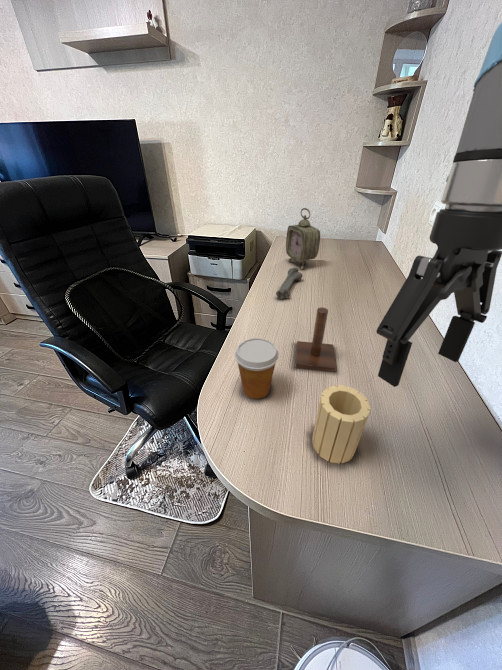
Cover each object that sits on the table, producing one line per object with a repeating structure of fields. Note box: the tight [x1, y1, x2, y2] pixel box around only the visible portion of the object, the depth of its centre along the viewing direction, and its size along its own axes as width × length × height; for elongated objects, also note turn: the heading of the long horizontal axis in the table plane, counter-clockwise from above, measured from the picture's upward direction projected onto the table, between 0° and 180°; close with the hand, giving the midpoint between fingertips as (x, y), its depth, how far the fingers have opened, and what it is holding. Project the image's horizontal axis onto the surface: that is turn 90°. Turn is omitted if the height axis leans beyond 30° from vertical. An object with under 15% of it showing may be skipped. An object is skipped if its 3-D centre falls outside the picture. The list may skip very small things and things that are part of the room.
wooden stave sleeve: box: [311, 384, 371, 465], centre depth 51 cm, size 8×8×12 cm
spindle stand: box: [295, 306, 337, 373], centre depth 71 cm, size 10×10×15 cm
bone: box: [275, 267, 303, 300], centre depth 109 cm, size 22×6×6 cm, turn 159°
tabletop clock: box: [285, 207, 321, 270], centre depth 125 cm, size 14×9×25 cm, turn 25°
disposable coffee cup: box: [234, 337, 280, 400], centre depth 62 cm, size 10×10×12 cm
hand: (419, 368), depth 40 cm, fingers open, 13 cm apart
